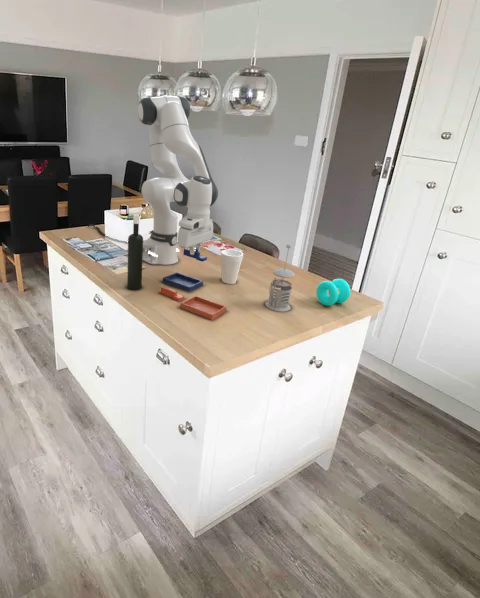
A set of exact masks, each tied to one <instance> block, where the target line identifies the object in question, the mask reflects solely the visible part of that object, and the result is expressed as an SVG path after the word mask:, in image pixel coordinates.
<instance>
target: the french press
mask: <svg viewBox="0 0 480 598" xmlns="http://www.w3.org/2000/svg"><path fill="white" fill-rule="evenodd" d="M285 247H286V248H287V252H286V253H287V254H286V256H288V255H289V249H292V245H291V244H290V243H289V244H286V246H285ZM287 261H288V257H286V258H285V263H284V267H280V268H279V267H278V268H276V269H274V270H273V271H272V273H273V275H275V276H276V277H279V278H281V279H279V278H278V279H277V278H275V277H274V278H273V279H272V281H271V283H270V286H269V296H268V301H266V302H265V306H266V307H267V308H268V309H269V310H272V311H275V312H276V311H277V312H286V311H287V312H288V311H290V310H291V306H290V304H289V303H290V299H291V294H292V290H293V289H292V282H290V281H289V280H285V279H290V278H293V277H294V276H296V274H295V272H293V271H292V270H290V269H289V268H286V266H287Z"/></svg>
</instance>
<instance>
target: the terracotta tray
mask: <svg viewBox="0 0 480 598" xmlns="http://www.w3.org/2000/svg"><path fill="white" fill-rule="evenodd" d="M179 308H180V309H183V310H185V311H187V312H191V313H193V314H196V315H197V316H201V317H203V318H206V319H209V320H211V321H214V320H215V319H216V318H218V317H219V316H221V315H223V314H224V313H226V312H227V308H228V307H227V306H226V305H223V304H221V303H218V302H215V301H212V300H210V299H207V298H203V297H201V296H198V295H193V296H190V297H189V298H188V299H185V300H183V301H180V306H179Z"/></svg>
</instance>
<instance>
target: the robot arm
mask: <svg viewBox="0 0 480 598" xmlns="http://www.w3.org/2000/svg"><path fill="white" fill-rule="evenodd" d="M190 113H191V107H190V103H189V100H188V99H187V98H186V97H185V96H181V95H177V96H176V95H162V96H152V97H143V98H141V99H140V101H139V102H138V107H137V115H138V117H139V118H138V119H139V121H140V122H141V123H142V124H143V125H146V126H148V143H149V144H148V145H149V152H150V160H151V164H152V166H153V167H154V168H155V169H156V170H158V171H159V172H160V174H161V177H153V178H150V179H147V180H145V181H144V182H143V183H142V186H141V195H142V198H143V200H144V201H145V202H146V203H148V205H149V206H150V208H151V211H152V215H153V228H152V230H150V231H149V232H148V235H150V236H149V237H148V238H147V239H143V259H142V262H146V263H147V264H149V265H162V266H163V265H167V266H168V265H173V264H177V263H178V262H179V257H178V252H180V250H179V249H178V248H177V246H178V247H179V248H182V249H185V248H188V249H190V254H191V255H194V254H195V252H196V251H197V252H200V253H201V248H202V246H203V243H204V242H206V241H207V242H208V241H209V240H212V239H213V237H214V222H213V218H212V217H211V210H210V209H211V207H212V206H213V205H214V204H215V203H216V201H217V200H218V196H219V191H218V187H217V184H216V183H215V181H214V180H213V178H212V175H211V171H210V169H209V166H208V163H207V161H206V157H205V155H204V154H205V153H204V152H203V150H202V147H201V146H200V144H199V143H198V142H197V141H196V140H195V138H194V137H193V135H192V133H191V130H190V126H189V122H188V119H189V118H190ZM177 156H178V157H181V158H183V159H185V160H187V161H188V162H189V163H190V164H191V165H192V167H193V170H194V172H195V175H194V176H192V177H191V178H190V179H189V178H187V177H186V176H185V175H184V174H183V172H182V171H181V168H180V166H179V162H178V160H177ZM173 202H174V203H176V204H177V206H179V207H183V208H187V212H186V214H185V215H184V216H183V217H182V218H181V219H180V220H179V221H178V219H179V218H178V215H177V213H176V212H175V211H173V210H172V209H171V203H173ZM91 226H92V227H94V228H95V229H97V230H98V232H99V233H100V234H101V235H102V236H104V237H106V236H105V235H106V233H104V232H103V231H101V229H100V228H99V227H98V226H96V225H95V224H93V223H88V224H87V226H86V227H91ZM95 226H96V227H95ZM178 227H179V228H178Z"/></svg>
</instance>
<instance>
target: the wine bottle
mask: <svg viewBox="0 0 480 598" xmlns="http://www.w3.org/2000/svg"><path fill="white" fill-rule="evenodd" d="M132 219H133V220H132V224H133V226H132V227H133V229H132V230H133V231H132V232H133V233H130V234H129V236H128V238H127V241H128V243H127V276H126V277H127V278H126V279H127V282H126V286H127V289H128V290H131V291H140V290H141V289H142V285H143V284H142V283H143V260H142V259H143V240H144V237H143V236H142V234H140V233H139V232H140V231H139V230H140V229H139V225H140V214H139V213H134V214H133V218H132Z"/></svg>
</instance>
